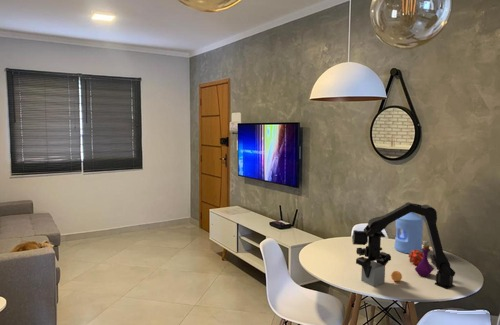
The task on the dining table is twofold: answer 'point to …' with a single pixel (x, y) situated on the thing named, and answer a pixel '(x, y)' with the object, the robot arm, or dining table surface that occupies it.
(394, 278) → the ball
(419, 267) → the perfume bottle
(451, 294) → the dining table surface
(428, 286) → the dining table surface
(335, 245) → the dining table surface
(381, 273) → the matte grey cube
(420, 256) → the dragon fruit
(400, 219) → the water jug
